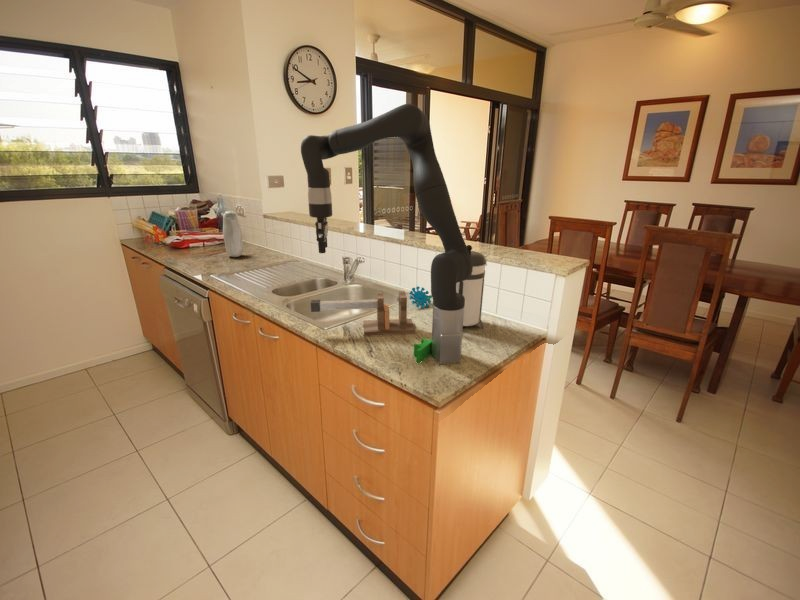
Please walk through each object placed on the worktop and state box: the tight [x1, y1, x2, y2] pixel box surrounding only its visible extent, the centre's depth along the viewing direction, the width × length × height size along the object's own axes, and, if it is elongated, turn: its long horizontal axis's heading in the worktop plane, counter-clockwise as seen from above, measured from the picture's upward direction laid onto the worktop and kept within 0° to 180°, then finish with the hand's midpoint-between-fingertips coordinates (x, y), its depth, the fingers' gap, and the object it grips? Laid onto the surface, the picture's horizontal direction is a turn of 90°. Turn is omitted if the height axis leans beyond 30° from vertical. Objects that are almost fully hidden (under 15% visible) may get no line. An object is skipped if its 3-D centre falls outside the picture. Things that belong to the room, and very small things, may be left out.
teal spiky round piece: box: [409, 285, 433, 309], centre depth 158 cm, size 11×6×10 cm
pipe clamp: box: [413, 337, 432, 364], centre depth 117 cm, size 11×4×5 cm, turn 147°
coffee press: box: [456, 244, 488, 329], centre depth 134 cm, size 17×16×30 cm
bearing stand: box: [362, 290, 416, 337], centre depth 133 cm, size 10×18×13 cm, turn 97°
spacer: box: [384, 303, 390, 330], centre depth 134 cm, size 7×2×7 cm, turn 7°
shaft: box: [310, 298, 378, 313], centre depth 130 cm, size 3×23×3 cm, turn 96°
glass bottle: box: [222, 210, 244, 258], centre depth 229 cm, size 10×10×28 cm
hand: (323, 250), depth 129 cm, fingers open, 8 cm apart
